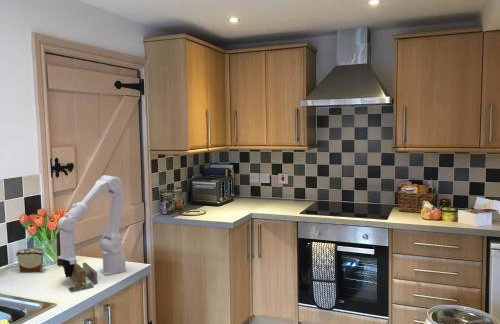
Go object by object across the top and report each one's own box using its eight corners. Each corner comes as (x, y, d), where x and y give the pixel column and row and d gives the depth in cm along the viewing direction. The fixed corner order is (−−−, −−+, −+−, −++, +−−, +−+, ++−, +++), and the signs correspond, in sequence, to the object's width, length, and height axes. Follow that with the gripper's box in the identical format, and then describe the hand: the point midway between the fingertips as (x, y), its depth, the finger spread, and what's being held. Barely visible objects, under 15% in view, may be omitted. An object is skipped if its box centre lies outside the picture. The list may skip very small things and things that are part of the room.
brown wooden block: (76, 275, 189) (75, 262, 189) (88, 287, 176) (88, 273, 175) (69, 276, 188) (68, 263, 187) (81, 288, 174) (80, 274, 173)
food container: (50, 268, 199) (49, 247, 198) (44, 272, 193) (43, 251, 192) (23, 268, 199) (22, 247, 198) (16, 273, 193) (15, 251, 192)
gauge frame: (85, 273, 193) (85, 262, 192) (99, 286, 178) (99, 274, 177) (58, 278, 186) (58, 267, 185) (71, 292, 171) (70, 280, 170)
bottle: (54, 264, 204) (52, 223, 202) (66, 260, 210) (65, 221, 208) (63, 267, 201) (61, 225, 199) (75, 263, 206) (74, 222, 205)
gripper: (53, 242, 183) (54, 273, 184) (62, 250, 171) (63, 283, 172) (70, 240, 187) (71, 270, 188) (80, 247, 176) (81, 279, 177)
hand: (68, 276), depth 181 cm, fingers closed, pressing on brown wooden block
